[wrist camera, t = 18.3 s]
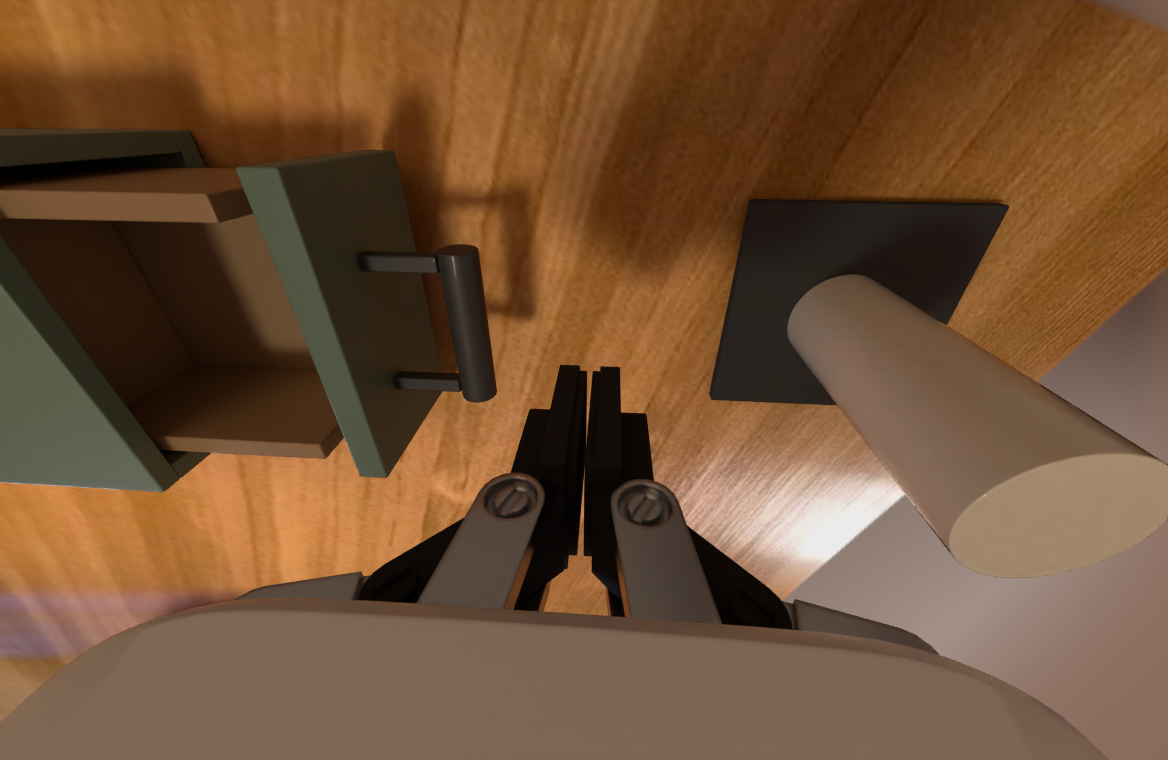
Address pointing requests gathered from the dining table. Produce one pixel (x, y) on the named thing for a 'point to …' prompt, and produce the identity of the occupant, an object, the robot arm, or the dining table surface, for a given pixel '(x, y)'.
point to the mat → (830, 249)
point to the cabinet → (73, 342)
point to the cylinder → (977, 437)
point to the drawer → (254, 300)
